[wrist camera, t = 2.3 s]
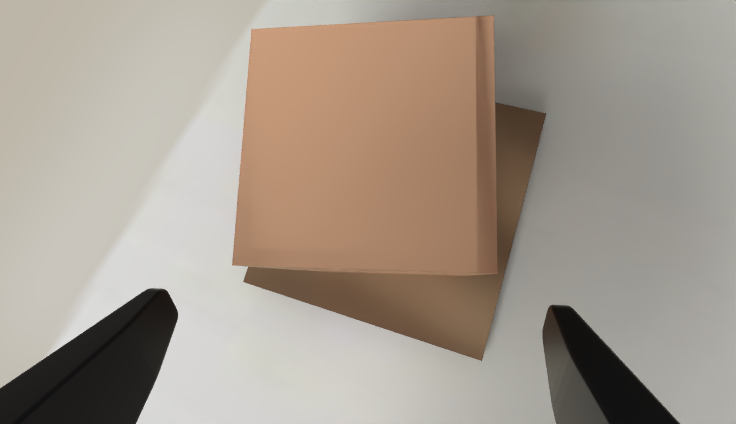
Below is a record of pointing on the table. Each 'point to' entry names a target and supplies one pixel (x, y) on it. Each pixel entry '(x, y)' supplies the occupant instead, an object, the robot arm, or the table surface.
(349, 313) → the walnut pad
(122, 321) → the robot arm
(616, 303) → the table surface
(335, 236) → the tan upright cuboid
